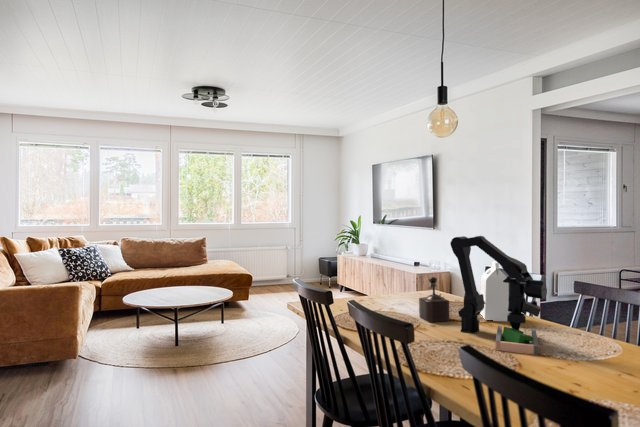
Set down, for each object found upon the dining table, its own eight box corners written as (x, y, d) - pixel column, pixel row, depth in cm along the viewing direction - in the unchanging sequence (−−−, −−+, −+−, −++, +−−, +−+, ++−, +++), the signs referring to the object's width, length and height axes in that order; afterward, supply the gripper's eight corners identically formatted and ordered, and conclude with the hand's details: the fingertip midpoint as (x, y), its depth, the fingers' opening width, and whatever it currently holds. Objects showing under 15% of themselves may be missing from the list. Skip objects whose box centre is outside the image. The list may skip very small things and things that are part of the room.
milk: (511, 321, 204) (512, 263, 204) (484, 320, 206) (485, 263, 206) (505, 315, 216) (505, 260, 216) (479, 314, 218) (480, 260, 217)
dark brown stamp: (451, 321, 205) (451, 281, 205) (429, 322, 203) (429, 282, 202) (434, 313, 221) (434, 276, 220) (413, 314, 218) (413, 277, 218)
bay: (495, 349, 165) (495, 341, 165) (497, 332, 186) (497, 325, 186) (538, 354, 159) (538, 346, 159) (535, 336, 181) (535, 329, 181)
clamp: (526, 360, 166) (537, 341, 162) (511, 357, 165) (522, 337, 162) (513, 339, 177) (523, 320, 173) (499, 336, 176) (509, 317, 173)
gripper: (540, 302, 164) (540, 344, 165) (538, 291, 181) (538, 330, 182) (507, 299, 169) (507, 341, 169) (508, 289, 186) (508, 327, 186)
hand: (516, 334), depth 177 cm, fingers closed
